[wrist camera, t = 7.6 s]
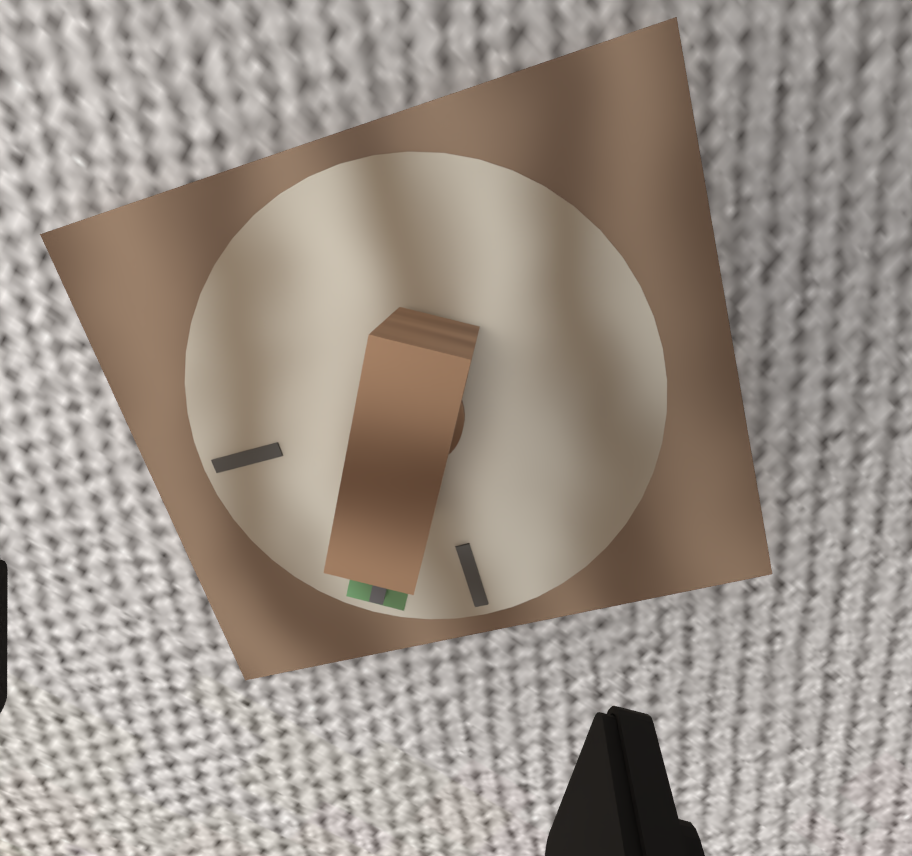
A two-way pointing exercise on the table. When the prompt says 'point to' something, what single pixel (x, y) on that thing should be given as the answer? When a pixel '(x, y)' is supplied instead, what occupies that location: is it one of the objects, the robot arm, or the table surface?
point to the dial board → (491, 371)
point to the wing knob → (399, 448)
